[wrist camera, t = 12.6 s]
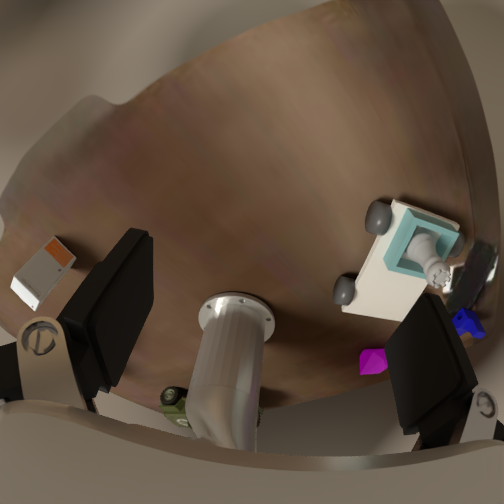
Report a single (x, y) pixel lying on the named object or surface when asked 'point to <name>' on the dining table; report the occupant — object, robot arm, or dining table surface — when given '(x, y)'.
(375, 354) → the crystal
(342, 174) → the dining table surface
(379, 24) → the dining table surface
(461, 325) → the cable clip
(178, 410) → the toy jeep
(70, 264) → the skincare box
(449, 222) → the chassis
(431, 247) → the rook chess piece
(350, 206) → the dining table surface
